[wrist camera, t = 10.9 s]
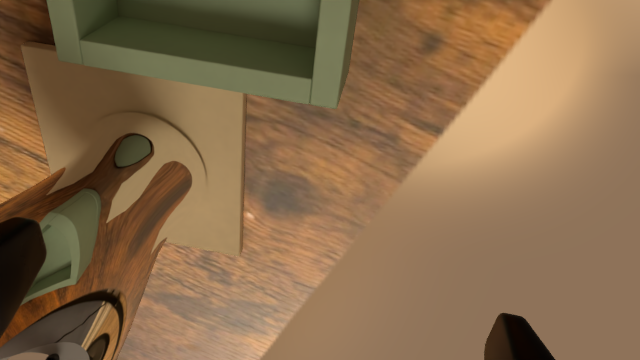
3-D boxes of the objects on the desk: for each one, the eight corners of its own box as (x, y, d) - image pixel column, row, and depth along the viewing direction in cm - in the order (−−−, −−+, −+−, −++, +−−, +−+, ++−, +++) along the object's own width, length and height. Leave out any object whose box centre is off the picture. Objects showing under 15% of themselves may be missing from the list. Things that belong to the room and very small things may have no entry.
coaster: (247, 77, 22) (243, 83, 21) (242, 249, 28) (239, 257, 27) (28, 40, 23) (19, 45, 22) (67, 215, 28) (61, 221, 28)
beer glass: (63, 181, 26) (-261, 486, 14) (98, 72, 22) (-306, 357, 10) (186, 246, 27) (-11, 583, 15) (239, 152, 23) (34, 500, 11)
